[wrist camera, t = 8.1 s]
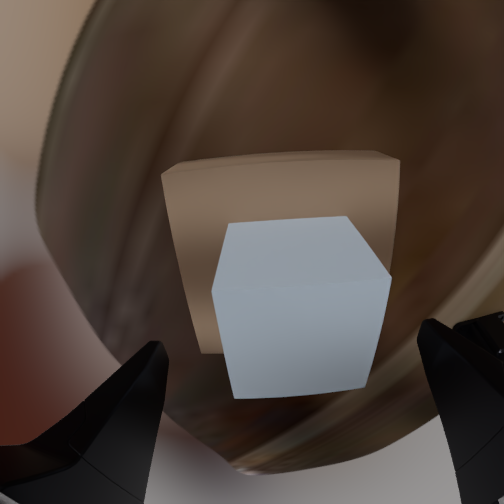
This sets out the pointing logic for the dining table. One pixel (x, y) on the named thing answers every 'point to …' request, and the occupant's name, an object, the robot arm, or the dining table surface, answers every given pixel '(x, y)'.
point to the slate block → (298, 306)
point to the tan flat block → (271, 209)
